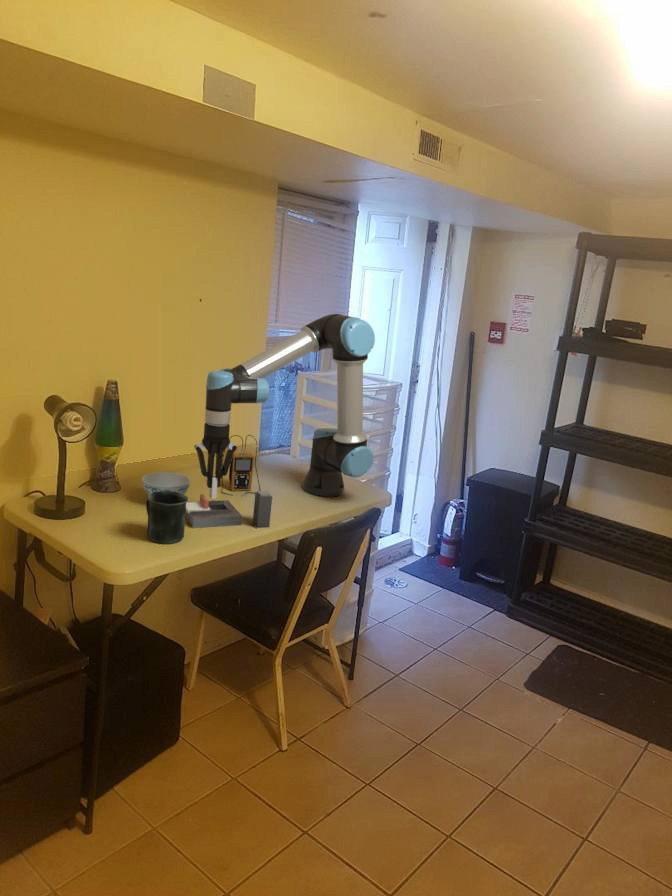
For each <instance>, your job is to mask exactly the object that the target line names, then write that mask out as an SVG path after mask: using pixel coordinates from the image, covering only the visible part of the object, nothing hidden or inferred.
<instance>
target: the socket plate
mask: <svg viewBox="0 0 672 896" xmlns="http://www.w3.org/2000/svg"><path fill="white" fill-rule="evenodd" d="M208 501H209V505H208V507H209V508H210V510H209V511H190V513H188V512H187V511H186V513H185V520H186V521H187V522H188V523H189V524H190V526H191V527H192V529H198V528H200V529H201V528H215V527H230V526H231V527H233V526H241V525H242V523H243V522H242V521H243V515H242V514H241V513H240V511H238V510H237V508H236V507H235V506H234V505H233V504H232V503H231V501H230V500H228V499H227V500H225V499H224V500H221V499H220V500H208ZM196 502H200V500H198V501H196Z"/></svg>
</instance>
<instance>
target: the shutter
mask: <svg viewBox="0 0 672 896" xmlns="http://www.w3.org/2000/svg"><path fill="white" fill-rule="evenodd" d="M199 501H200V502H197V501H187V502H186V511H187V512H188V513H190V511H209V510H210V508H209V507H208V505H209V501H210V500H209V499H207V497H206V496H205V494H199Z"/></svg>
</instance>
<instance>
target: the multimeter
mask: <svg viewBox="0 0 672 896" xmlns="http://www.w3.org/2000/svg"><path fill="white" fill-rule="evenodd" d="M248 436H250V437H252V438H253V439H254V440H255V442H256V444H258V441H257V439H256V438H255V437H254V435H251V434H248V435H247V436H246V437H245V444H244V439H243V437H242V436H240V435H237V434H235V435H232V436H229V439H230V440H231V438H232V437H239V438H240V439H241V441H242V443H241V444H242V445H241V451H240V452H239V453H237V452H236V453H235V452H234V453H233V456H232V459H231V463H230V466H229V469H228V481H229V487H228V488H229V489H230V490H231V492H235V491H238V492H239V491H240V492H242V491H246V492H245V493H242V494H241V495H240V496H238V495H239V494H235V496H237V497H239V498H242V497H243V496H245V495H246V494H254V492H251V491H252V482H253V473H254V467H255V472H256V477H257V482H258V490H261V485H260V480H259V477H258V476H259V475H258V471H257V469H258V468H257V453H258V448H256V449H255V455H254V454H253V453H247V450H246V449H247V438H248ZM225 451H226V449H225V450H224V452H223V457H222V466H223V463H224V459H225ZM223 477H224V476H222V478H221V493H222V494H225V495H229V496H234V493H230V492H223V484H224V483H223ZM255 493H257V491H256V492H255Z"/></svg>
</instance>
